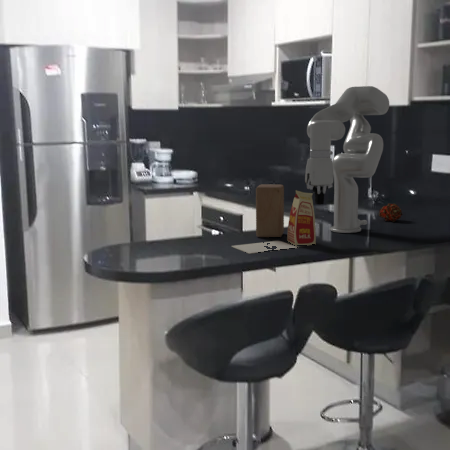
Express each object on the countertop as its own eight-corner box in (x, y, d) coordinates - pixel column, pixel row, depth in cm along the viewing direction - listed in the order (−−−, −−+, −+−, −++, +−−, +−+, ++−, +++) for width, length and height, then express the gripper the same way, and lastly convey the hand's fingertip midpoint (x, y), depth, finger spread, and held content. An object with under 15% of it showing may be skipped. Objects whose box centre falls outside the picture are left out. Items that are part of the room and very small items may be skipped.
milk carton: (295, 246, 235) (295, 191, 232) (286, 241, 244) (286, 189, 240) (318, 244, 237) (319, 190, 234) (308, 240, 246) (308, 188, 243)
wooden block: (281, 238, 250) (281, 187, 247) (255, 237, 252) (255, 186, 249) (284, 233, 260) (284, 184, 257) (259, 232, 262) (259, 184, 259)
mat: (278, 241, 244) (278, 240, 244) (298, 248, 232) (298, 247, 232) (231, 246, 236) (231, 245, 236) (248, 253, 223) (248, 253, 223)
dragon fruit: (400, 226, 280) (380, 226, 291) (410, 213, 284) (389, 214, 294) (391, 212, 277) (370, 212, 288) (401, 199, 281) (380, 200, 291)
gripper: (331, 153, 245) (330, 201, 248) (297, 155, 238) (297, 204, 241) (342, 154, 238) (341, 203, 241) (308, 156, 232) (308, 206, 235)
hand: (319, 203), depth 241 cm, fingers closed
